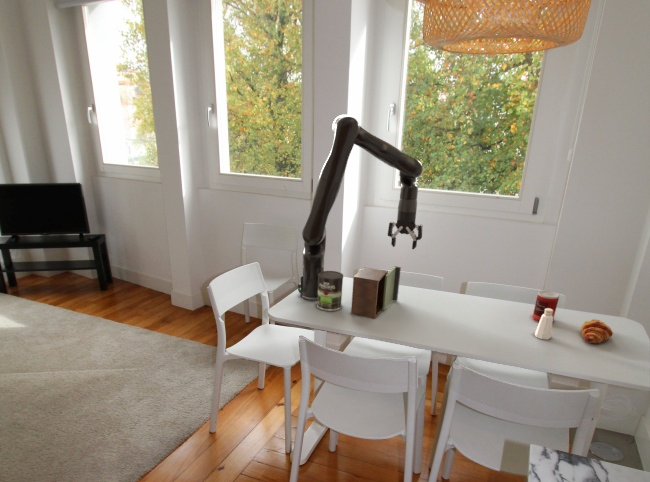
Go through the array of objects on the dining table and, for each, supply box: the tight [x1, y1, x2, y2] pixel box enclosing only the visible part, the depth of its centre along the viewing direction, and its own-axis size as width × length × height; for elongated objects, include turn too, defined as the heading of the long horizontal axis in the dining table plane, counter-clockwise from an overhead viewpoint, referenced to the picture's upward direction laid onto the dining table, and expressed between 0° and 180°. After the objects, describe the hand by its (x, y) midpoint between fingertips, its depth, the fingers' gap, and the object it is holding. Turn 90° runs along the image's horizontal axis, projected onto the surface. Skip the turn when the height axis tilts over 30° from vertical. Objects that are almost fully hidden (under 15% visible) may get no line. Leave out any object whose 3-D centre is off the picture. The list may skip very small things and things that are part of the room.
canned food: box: [532, 290, 560, 323], centre depth 187 cm, size 8×8×11 cm
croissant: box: [580, 319, 614, 344], centre depth 174 cm, size 21×10×8 cm, turn 141°
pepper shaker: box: [534, 308, 554, 341], centre depth 172 cm, size 5×5×11 cm
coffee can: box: [316, 270, 344, 312], centre depth 194 cm, size 10×10×14 cm
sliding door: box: [382, 265, 402, 311], centre depth 196 cm, size 3×14×15 cm, turn 155°
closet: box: [350, 267, 389, 320], centre depth 191 cm, size 10×14×16 cm
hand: (403, 247), depth 201 cm, fingers open, 8 cm apart
